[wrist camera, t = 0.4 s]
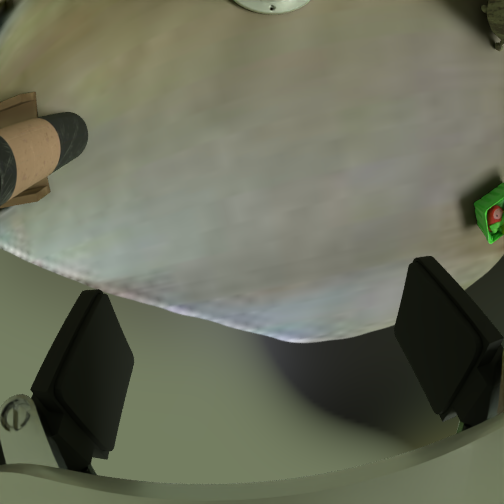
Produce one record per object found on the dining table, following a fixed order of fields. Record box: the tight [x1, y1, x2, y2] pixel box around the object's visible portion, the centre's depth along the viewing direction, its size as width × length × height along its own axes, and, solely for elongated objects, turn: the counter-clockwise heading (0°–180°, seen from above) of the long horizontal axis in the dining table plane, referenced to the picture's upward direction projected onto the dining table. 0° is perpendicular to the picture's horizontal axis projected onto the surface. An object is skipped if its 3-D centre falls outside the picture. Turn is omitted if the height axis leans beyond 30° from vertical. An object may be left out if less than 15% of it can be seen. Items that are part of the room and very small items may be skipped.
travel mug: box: [0, 112, 88, 206], centre depth 28 cm, size 8×8×20 cm
